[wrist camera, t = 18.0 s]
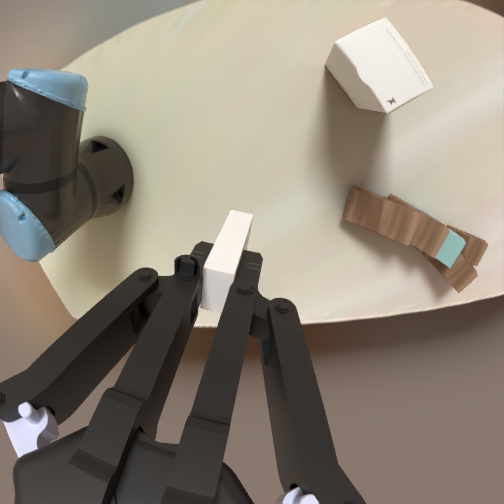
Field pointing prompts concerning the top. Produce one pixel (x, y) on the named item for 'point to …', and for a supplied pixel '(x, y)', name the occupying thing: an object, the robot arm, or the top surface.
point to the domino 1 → (381, 215)
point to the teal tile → (449, 247)
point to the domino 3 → (471, 246)
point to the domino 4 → (455, 271)
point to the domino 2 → (426, 231)
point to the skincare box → (377, 68)
